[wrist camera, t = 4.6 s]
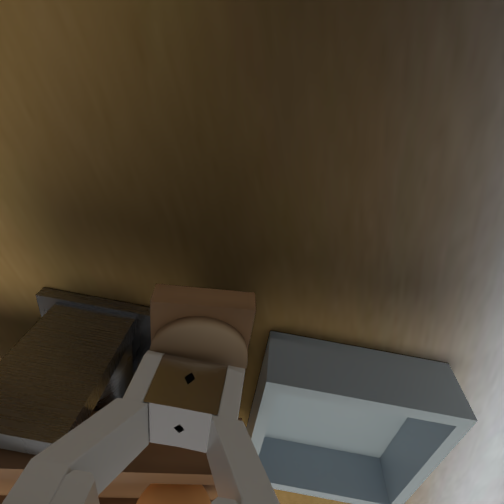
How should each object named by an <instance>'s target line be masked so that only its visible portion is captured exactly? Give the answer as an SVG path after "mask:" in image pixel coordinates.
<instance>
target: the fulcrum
mask: <svg viewBox="0 0 504 504" xmlns="http://www.w3.org/2000/svg"><path fill="white" fill-rule="evenodd" d="M36 298H37V302H38V306H39V310H40V313H41V318H40V320H39V321H38V322H37V323H36V324H35V325H34V326H33V327H32V328H31V329H30V330H29V331H28V332H27V333H26V334H25V335H24V336H23V337H22V338H21V340H20V341H19V342H18V343H17V344H16V345H15V346H14V347H13V348H12V349H11V350H10V351H9V352H8V353H7V354H6V355H5V356H4V357H3V358H2V360H1V361H0V448H1V449H6V450H12V451H17V452H22V453H27V454H33V455H37V454H39V453H40V452H42V451H43V450H44V449H46V448H47V447H49V446H50V445H51V444H53V443H54V442H56V441H57V440H58V439H60V438H61V437H63V436H64V435H65V434H67V433H68V432H70V431H71V430H72V429H74V428H75V427H77V426H78V425H80V424H81V423H82V422H84V421H85V420H87V419H88V418H89V417H90V415H91V413H92V411H99V410H101V409H102V408H103V407H105V406H106V405H108V404H109V403H111V402H112V401H113V400H115V399H116V398H123V396H124V394H125V392H126V390H127V388H128V386H129V384H130V382H131V380H132V378H133V376H134V374H135V372H136V370H137V368H138V366H139V364H140V362H141V360H142V358H143V356H144V354H145V353H146V352H147V351H148V350H150V346H151V323H150V307H147V306H142V305H136V304H131V303H126V302H120V301H115V300H109V299H104V298H99V297H93V296H88V295H82V294H77V293H71V292H66V291H61V290H55V289H50V288H42V289H41V290H40V291H39V292H38V293H37V294H36Z"/></svg>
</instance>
